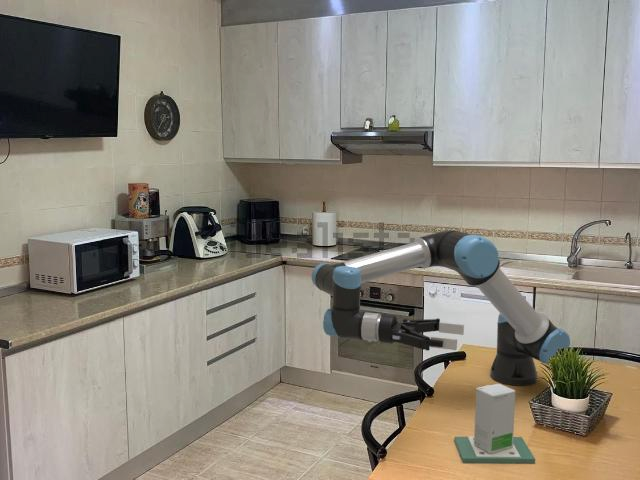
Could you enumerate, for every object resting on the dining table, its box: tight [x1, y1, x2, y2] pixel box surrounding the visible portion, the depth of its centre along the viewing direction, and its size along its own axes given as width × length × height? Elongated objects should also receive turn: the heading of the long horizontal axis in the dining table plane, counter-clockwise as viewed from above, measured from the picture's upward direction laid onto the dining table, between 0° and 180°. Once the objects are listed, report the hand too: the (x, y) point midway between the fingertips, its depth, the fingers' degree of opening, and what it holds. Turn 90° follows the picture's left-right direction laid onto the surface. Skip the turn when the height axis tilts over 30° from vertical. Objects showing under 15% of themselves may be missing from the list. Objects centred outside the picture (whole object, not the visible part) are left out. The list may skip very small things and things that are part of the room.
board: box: [453, 435, 536, 464], centre depth 169 cm, size 18×12×2 cm, turn 89°
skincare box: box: [473, 383, 516, 454], centre depth 168 cm, size 8×7×16 cm
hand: (460, 336), depth 168 cm, fingers open, 13 cm apart
